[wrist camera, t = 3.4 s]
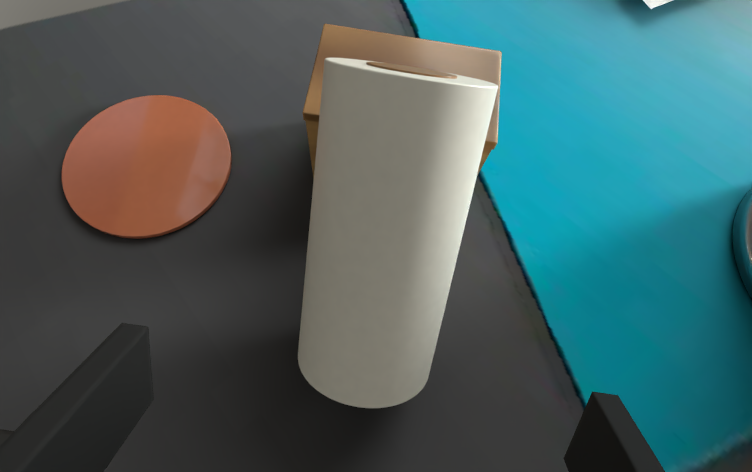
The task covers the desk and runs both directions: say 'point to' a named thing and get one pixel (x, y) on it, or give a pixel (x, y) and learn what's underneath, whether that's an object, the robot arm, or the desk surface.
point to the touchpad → (655, 3)
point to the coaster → (146, 166)
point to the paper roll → (386, 224)
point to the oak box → (401, 53)
